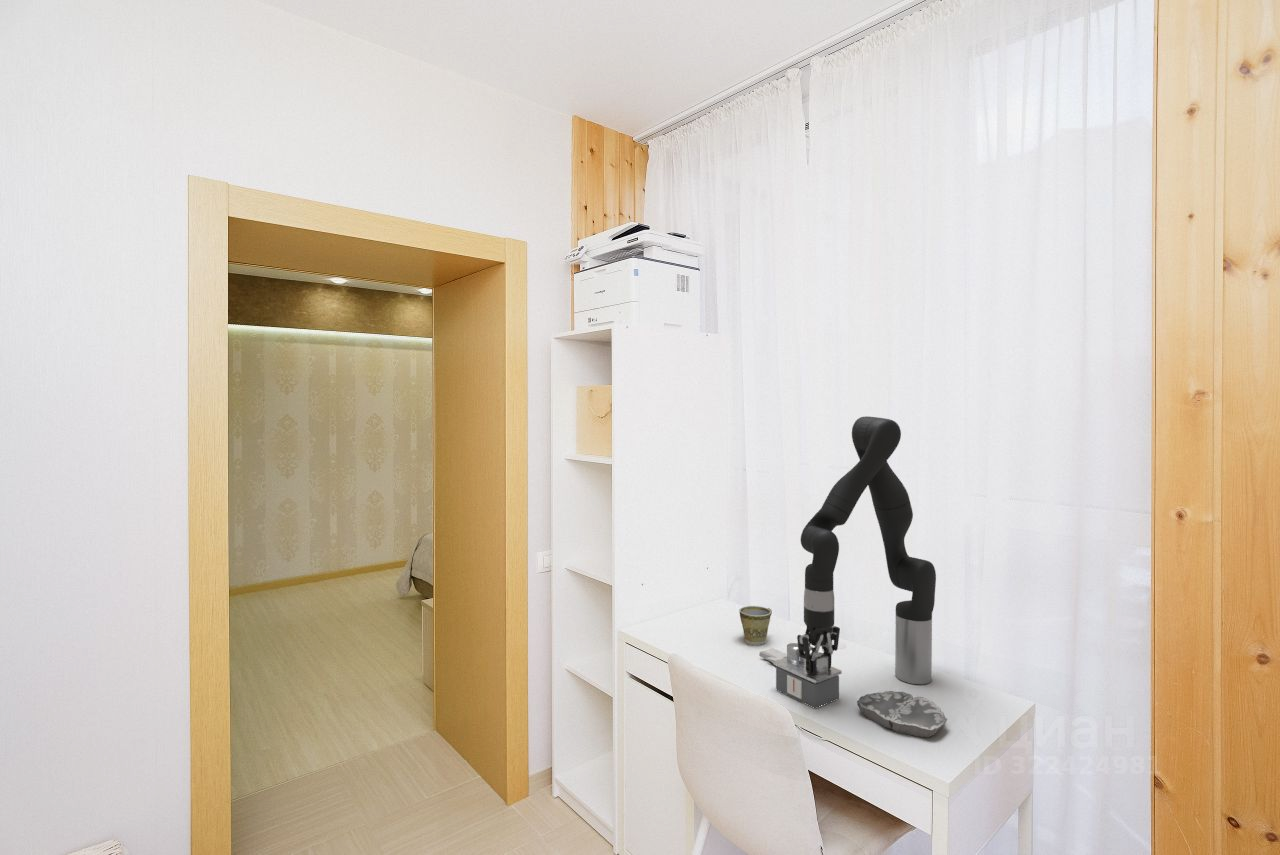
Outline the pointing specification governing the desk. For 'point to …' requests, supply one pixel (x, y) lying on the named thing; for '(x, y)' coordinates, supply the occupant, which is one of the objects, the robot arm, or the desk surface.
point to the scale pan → (801, 671)
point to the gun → (772, 655)
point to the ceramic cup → (755, 623)
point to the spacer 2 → (821, 663)
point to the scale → (807, 688)
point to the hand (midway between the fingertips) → (818, 670)
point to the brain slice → (903, 713)
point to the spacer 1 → (794, 654)
